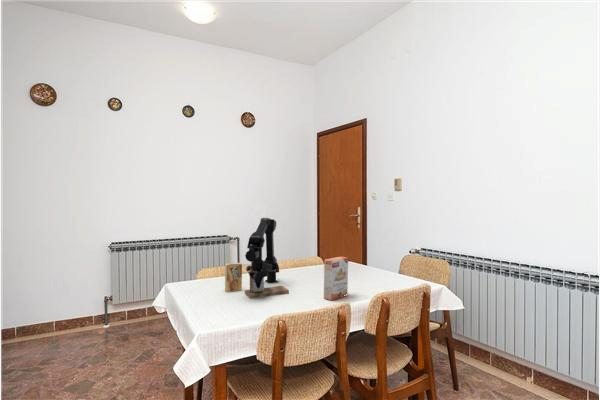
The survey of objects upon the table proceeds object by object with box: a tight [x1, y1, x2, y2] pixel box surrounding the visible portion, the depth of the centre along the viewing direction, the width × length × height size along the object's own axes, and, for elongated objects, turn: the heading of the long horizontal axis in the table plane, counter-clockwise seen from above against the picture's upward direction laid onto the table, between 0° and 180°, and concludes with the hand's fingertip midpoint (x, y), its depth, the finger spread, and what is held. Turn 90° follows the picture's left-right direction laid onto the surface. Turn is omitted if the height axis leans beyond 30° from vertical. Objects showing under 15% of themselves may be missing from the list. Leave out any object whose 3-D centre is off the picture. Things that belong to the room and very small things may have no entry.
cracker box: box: [323, 256, 349, 301], centre depth 190 cm, size 14×6×21 cm, turn 137°
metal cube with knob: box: [249, 275, 265, 292], centre depth 194 cm, size 6×6×8 cm
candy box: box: [224, 262, 243, 293], centre depth 203 cm, size 9×4×15 cm, turn 116°
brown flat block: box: [244, 285, 290, 299], centre depth 197 cm, size 22×10×5 cm, turn 116°
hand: (256, 286), depth 194 cm, fingers closed on metal cube with knob, 6 cm apart
